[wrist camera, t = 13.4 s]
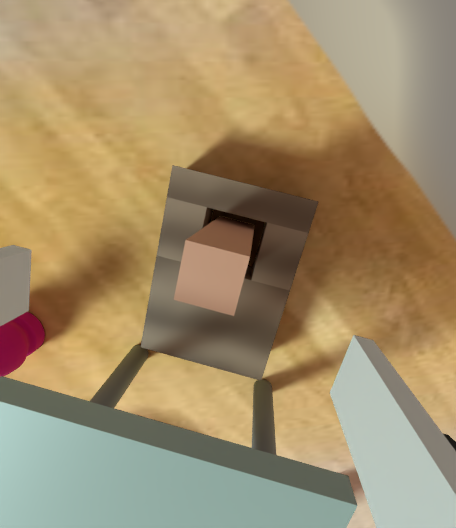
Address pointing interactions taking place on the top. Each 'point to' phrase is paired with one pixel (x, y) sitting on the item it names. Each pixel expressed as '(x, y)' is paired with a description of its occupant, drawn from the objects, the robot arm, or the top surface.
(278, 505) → the miniature side table
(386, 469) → the robot arm
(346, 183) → the top surface
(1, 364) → the pepper mill
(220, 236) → the peg
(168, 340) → the socket block
